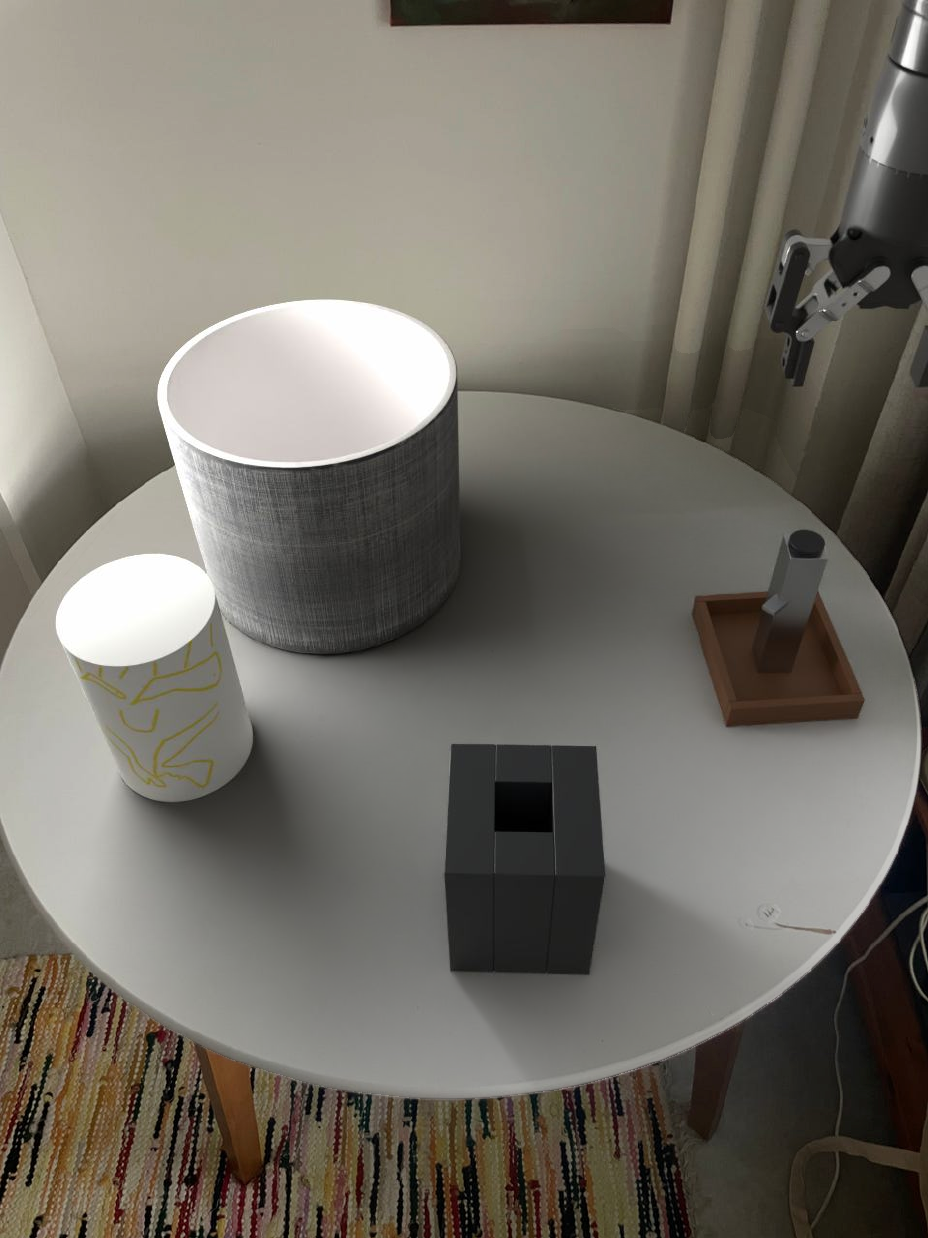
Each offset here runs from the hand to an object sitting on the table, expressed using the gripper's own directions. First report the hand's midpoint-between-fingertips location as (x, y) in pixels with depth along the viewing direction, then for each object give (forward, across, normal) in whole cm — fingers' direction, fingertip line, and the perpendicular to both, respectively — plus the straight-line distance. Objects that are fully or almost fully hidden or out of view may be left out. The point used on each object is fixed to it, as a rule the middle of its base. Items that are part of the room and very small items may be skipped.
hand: (856, 380), depth 72 cm
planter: (+30, -41, +13) cm, 53 cm away
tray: (+30, 0, 0) cm, 30 cm away
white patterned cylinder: (+30, -52, -10) cm, 61 cm away
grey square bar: (+30, 0, 0) cm, 30 cm away
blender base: (+30, -23, -25) cm, 45 cm away
